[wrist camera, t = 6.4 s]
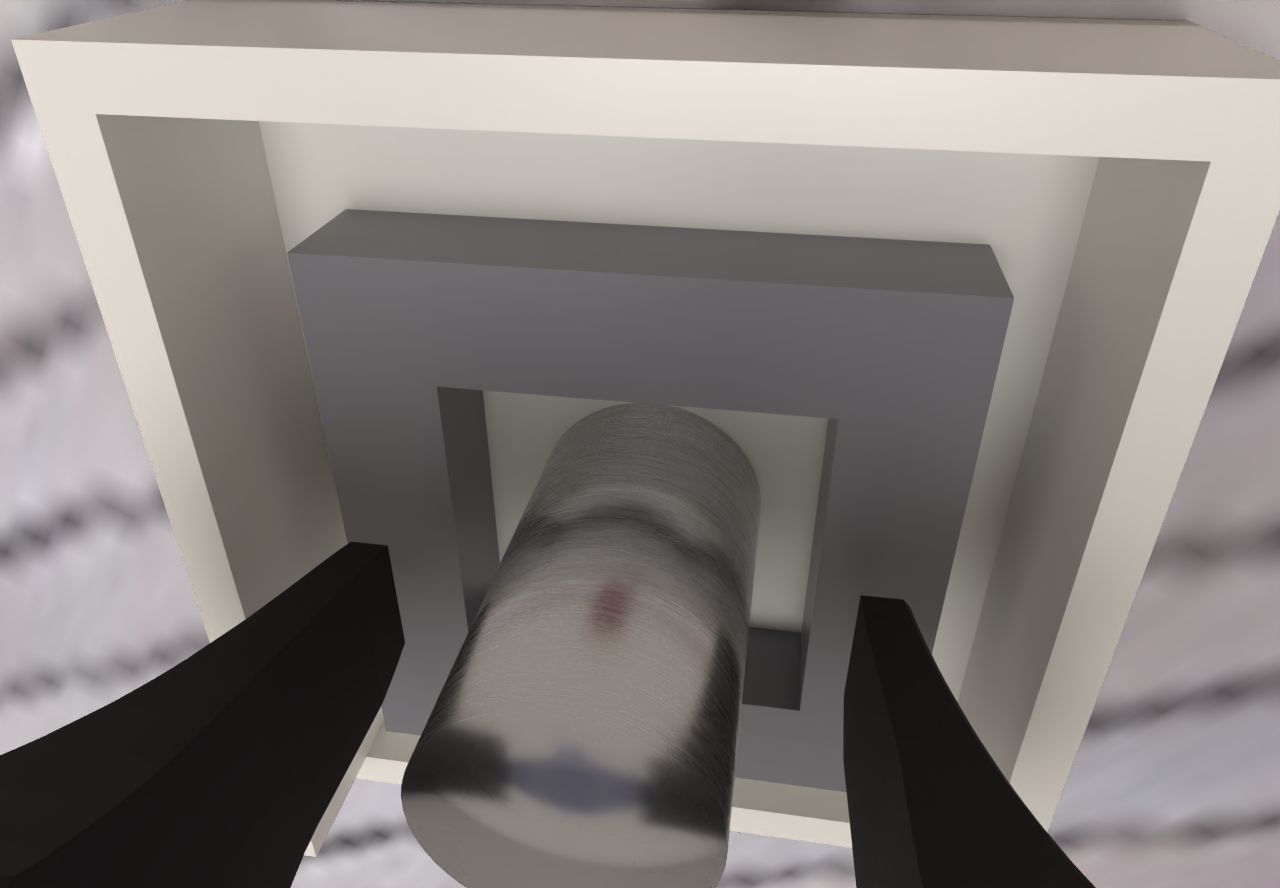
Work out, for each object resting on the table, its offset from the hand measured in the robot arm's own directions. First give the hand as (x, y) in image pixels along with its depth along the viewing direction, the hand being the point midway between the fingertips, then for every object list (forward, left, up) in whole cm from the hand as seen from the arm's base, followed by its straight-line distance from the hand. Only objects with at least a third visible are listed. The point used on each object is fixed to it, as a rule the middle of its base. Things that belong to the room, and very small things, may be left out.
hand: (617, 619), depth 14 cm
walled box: (0, 0, -4) cm, 4 cm away
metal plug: (0, 0, -3) cm, 3 cm away
